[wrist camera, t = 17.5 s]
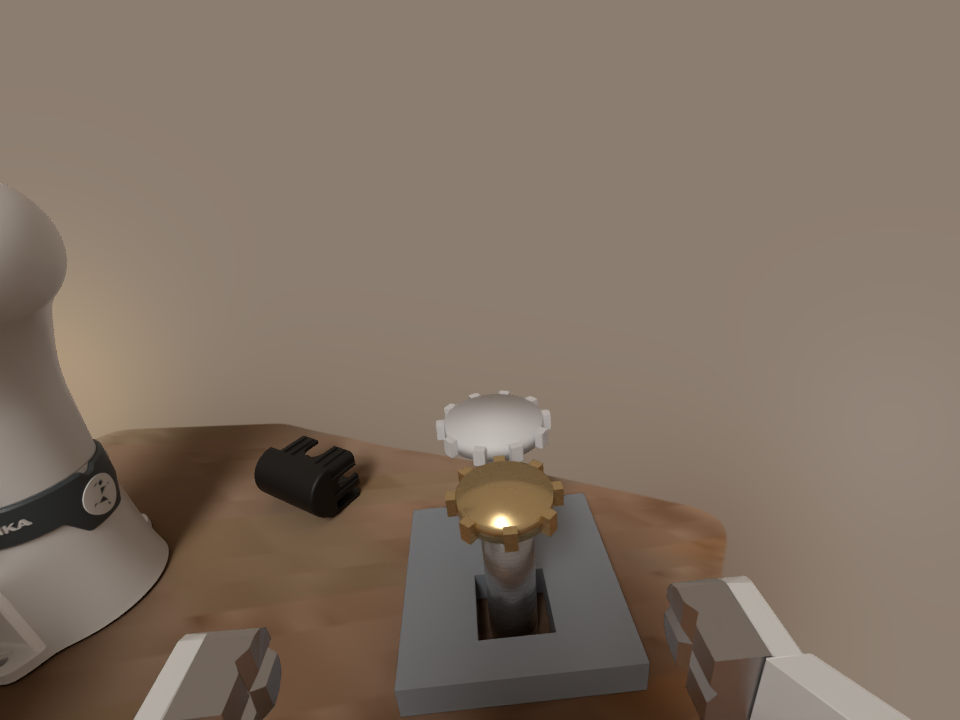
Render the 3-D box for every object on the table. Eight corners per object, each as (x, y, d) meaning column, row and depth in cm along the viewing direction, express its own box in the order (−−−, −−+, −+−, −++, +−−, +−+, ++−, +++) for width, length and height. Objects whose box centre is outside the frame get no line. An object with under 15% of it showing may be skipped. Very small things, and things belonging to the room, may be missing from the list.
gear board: (400, 716, 34) (364, 571, 28) (419, 511, 53) (400, 400, 47) (646, 689, 34) (662, 540, 28) (576, 495, 53) (576, 383, 47)
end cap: (262, 507, 56) (246, 460, 53) (309, 473, 61) (297, 429, 59) (320, 534, 51) (305, 485, 48) (365, 494, 57) (354, 448, 54)
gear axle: (465, 684, 35) (444, 541, 29) (463, 589, 43) (446, 461, 37) (575, 672, 35) (576, 527, 30) (553, 580, 43) (551, 450, 37)
